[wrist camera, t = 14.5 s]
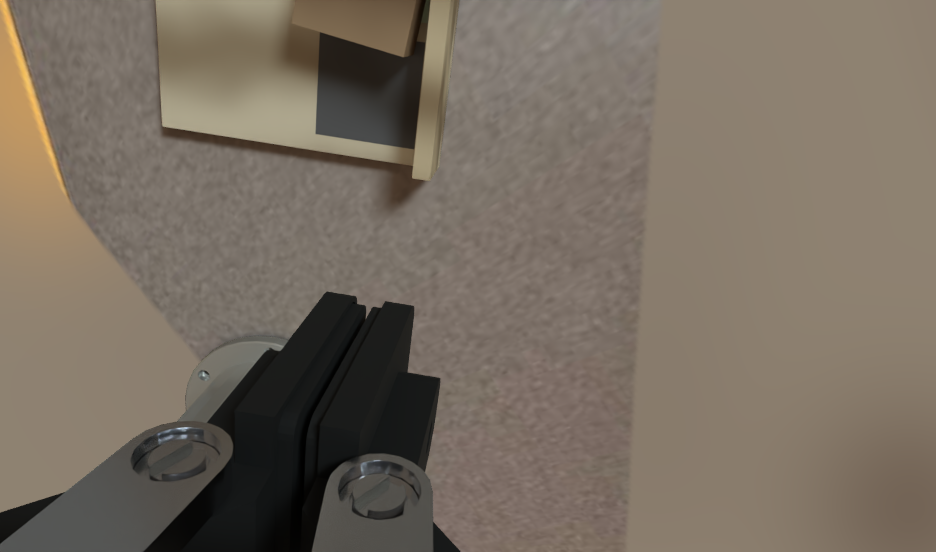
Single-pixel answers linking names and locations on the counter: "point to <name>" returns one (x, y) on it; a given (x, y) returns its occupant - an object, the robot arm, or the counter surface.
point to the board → (304, 81)
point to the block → (365, 21)
